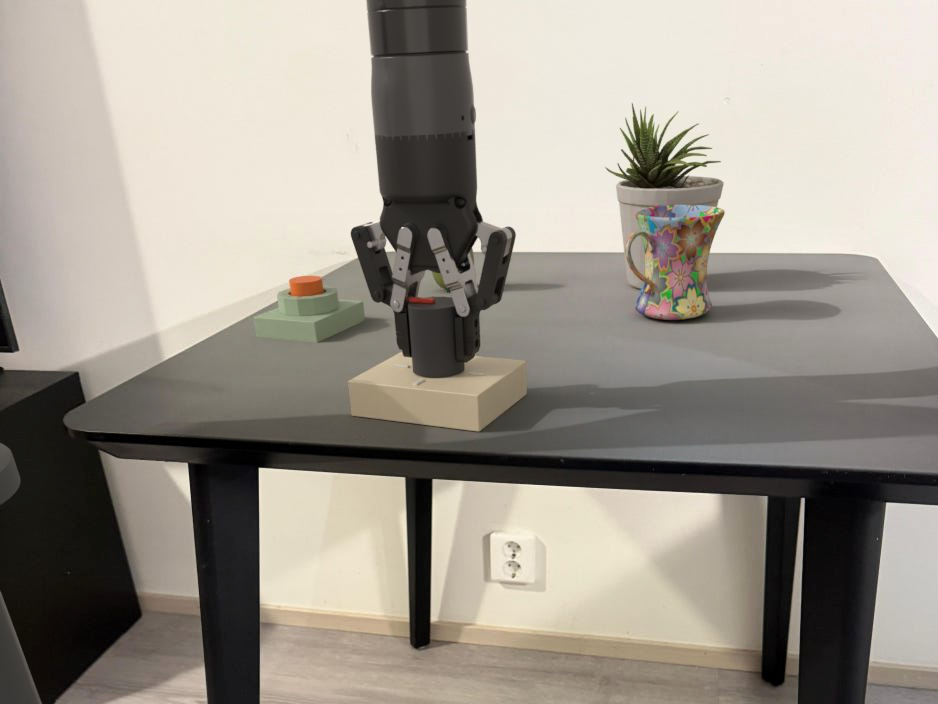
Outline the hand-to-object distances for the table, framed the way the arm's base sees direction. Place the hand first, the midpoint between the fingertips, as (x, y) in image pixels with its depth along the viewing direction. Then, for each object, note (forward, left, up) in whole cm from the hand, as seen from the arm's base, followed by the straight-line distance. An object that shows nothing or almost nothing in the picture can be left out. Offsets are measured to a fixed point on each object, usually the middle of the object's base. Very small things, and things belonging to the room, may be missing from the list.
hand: (439, 356), depth 78 cm
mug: (+35, -10, -4) cm, 37 cm away
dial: (0, 0, -1) cm, 1 cm away
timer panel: (0, 0, -4) cm, 4 cm away
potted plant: (+51, -5, -4) cm, 51 cm away
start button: (+19, +26, -1) cm, 32 cm away
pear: (+41, +19, -4) cm, 45 cm away
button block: (+19, +26, -4) cm, 32 cm away
